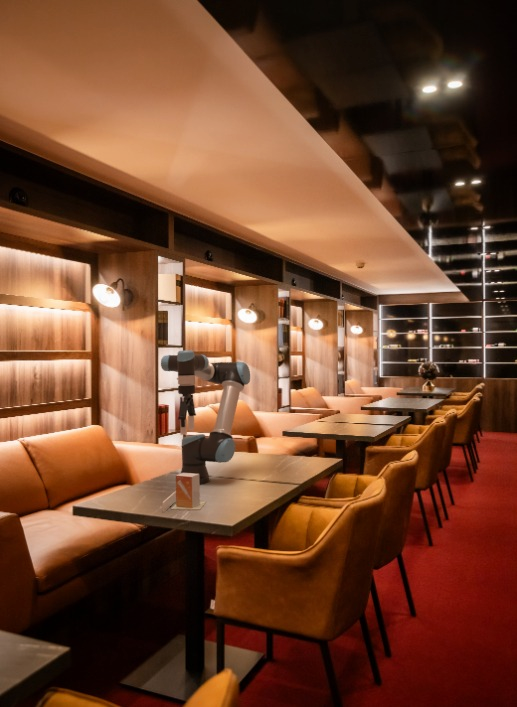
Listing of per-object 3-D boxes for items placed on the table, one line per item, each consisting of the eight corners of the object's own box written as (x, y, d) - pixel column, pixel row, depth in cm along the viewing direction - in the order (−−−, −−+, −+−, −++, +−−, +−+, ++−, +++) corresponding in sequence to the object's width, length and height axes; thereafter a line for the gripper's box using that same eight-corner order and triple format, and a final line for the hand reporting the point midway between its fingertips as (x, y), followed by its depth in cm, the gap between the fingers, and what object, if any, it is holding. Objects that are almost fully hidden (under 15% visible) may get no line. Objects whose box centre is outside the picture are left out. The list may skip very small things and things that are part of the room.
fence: (175, 499, 259) (175, 490, 259) (177, 499, 259) (177, 490, 259) (162, 512, 239) (162, 502, 239) (164, 512, 239) (164, 502, 239)
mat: (178, 502, 255) (178, 501, 255) (206, 502, 253) (206, 501, 253) (171, 509, 243) (171, 508, 243) (199, 509, 241) (199, 508, 241)
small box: (175, 506, 246) (175, 475, 246) (183, 502, 252) (183, 472, 252) (192, 508, 243) (191, 476, 243) (200, 504, 248) (199, 473, 248)
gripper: (185, 383, 277) (186, 428, 277) (170, 386, 253) (171, 436, 253) (201, 383, 276) (202, 428, 276) (187, 386, 252) (188, 436, 252)
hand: (187, 432), depth 264 cm, fingers open, 13 cm apart
